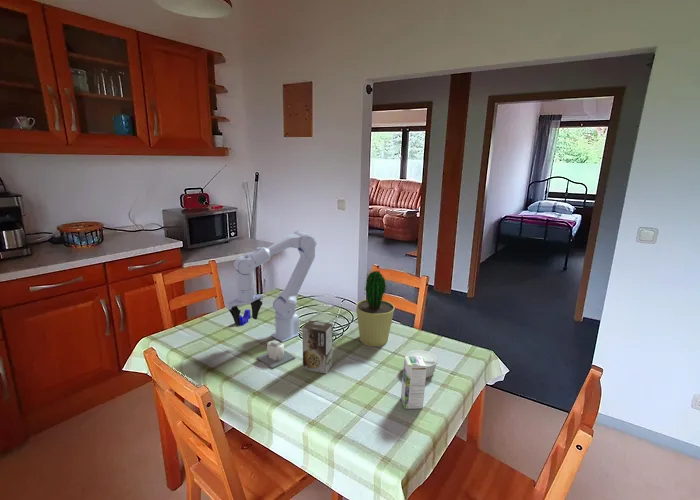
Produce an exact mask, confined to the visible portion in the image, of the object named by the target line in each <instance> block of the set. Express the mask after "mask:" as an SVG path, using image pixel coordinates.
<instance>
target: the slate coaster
mask: <svg viewBox="0 0 700 500" xmlns="http://www.w3.org/2000/svg"><path fill="white" fill-rule="evenodd" d="M256 359H257V360H258V361H260V362H262V363H263V364H264V365H266V366H268V367H269V368H271V369H272V370H274V369H276V368H278V367H281V366H282V365H284V364H287V363H289V362H291V361H293V360H295V359H296V356H294V355H293V354H290V353H289V352H288V351H286V350H284V359H283V360H281V361H276V360H274V359H271V358H269V357H268V356H267V352H265V353H263V354H260V355H258V356H256Z"/></svg>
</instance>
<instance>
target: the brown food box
mask: <svg viewBox="0 0 700 500" xmlns="http://www.w3.org/2000/svg"><path fill="white" fill-rule="evenodd" d="M333 327H334V326H333V323H329V322H324V321H323V322H322V321H318V320H317V321H316V320H309V321H307V322H306V323H305V324H304V325H303V326H302V327H301V330H302V331H301V333H302V337H301V338H302V369H303V370H306V371H311V372H316V373H321V374H324V375H326V374H327V373H329V371H330V369H331V368H332V367H333V338H334V337H333V332H334V331H333V329H334V328H333Z"/></svg>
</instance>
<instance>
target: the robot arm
mask: <svg viewBox="0 0 700 500" xmlns="http://www.w3.org/2000/svg"><path fill="white" fill-rule="evenodd" d="M316 246H317V242H316V240H315V237H314V236H313V235H312V234H309V233H307V232H304V231H302V230H296V231H294V232H291V233H289V234H288V235H287V236H285V237H283V238H282V239H279V240H278V241H277V242H275V243H273V244H271V245H270V246H268V247H264V246H261V247H260V246H258V247H256V249H255V250H253V251H251V252H249V253H245V254H244V255H241V256H238V257H236V259H235V260H234V261H233V265H232V266H233V268H234V269H235V277H236V278H235V279H236V280H235V281H236V282H235V284H236V298H235V299H234V300H232V301H230V302H227V303H226V309H227V310H228V311H229V313H230V314H231V316H232V318H233V321H234V325H236V326H241V325H240V319H239V317H240V315H241V309H239V307H241V306H244V305H249V304H250V305H251V306H250V307H251V317H252V318H251V319H253V320H258V316H259V311H260V309H261V307H262V305H263V300H264V294H261V293H258V294H253V293H254V292H253V291H254V290H253V275H252V273H253V271H254V269H255V268H257V267H260V266H261V265H264V264H265V263H267V262H269V261H270V260H271V257H272V256H274V255H276V254H278V253H280V252H282V251H284V250H287V249H290V248H292V249H293V248H294V249H297V250H298V254H299V255H300V257H299V258H298V260H297V263H296V265H295V267H294V269H293V272H292V274H291V275H290V277H289V280H288V282H287V284H286V286H285V288H284V290H283V291H281V292H280V293H278V296H277V297H276V298H275V299H274V300H273V302H272V308H273V310H274V311H275V314H274V326H275V329H274V330H275V331H274V333H271V334H270V336H271V337H273V338H274V339H277V341H279V342H286V341H288V340H290V339H293V338H296V337H298V336H300V335H299V334H298V332H299V333H300V318H299V315H298V314H297V313H296V309H297V308H296V307H297V304H298V300H297V296H298V295H299V294H298V293H299V292H300V290H301V287H302V286H303V283H304V281H305V279H306V277H307V275H308V273H309V270H310V269H311V267H312V265H313V262H314V259H315V258H316Z"/></svg>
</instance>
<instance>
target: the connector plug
mask: <svg viewBox="0 0 700 500" xmlns="http://www.w3.org/2000/svg"><path fill="white" fill-rule="evenodd" d="M266 346H267V347H266V349H267V352H266V353H267V356H268V357H269V358H271V359H274V360H276V361H281V360H283V359H284V351H285V344H284V343H281V341H280V340H275V339H274V340H271V341H268V342H267V343H266Z"/></svg>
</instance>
